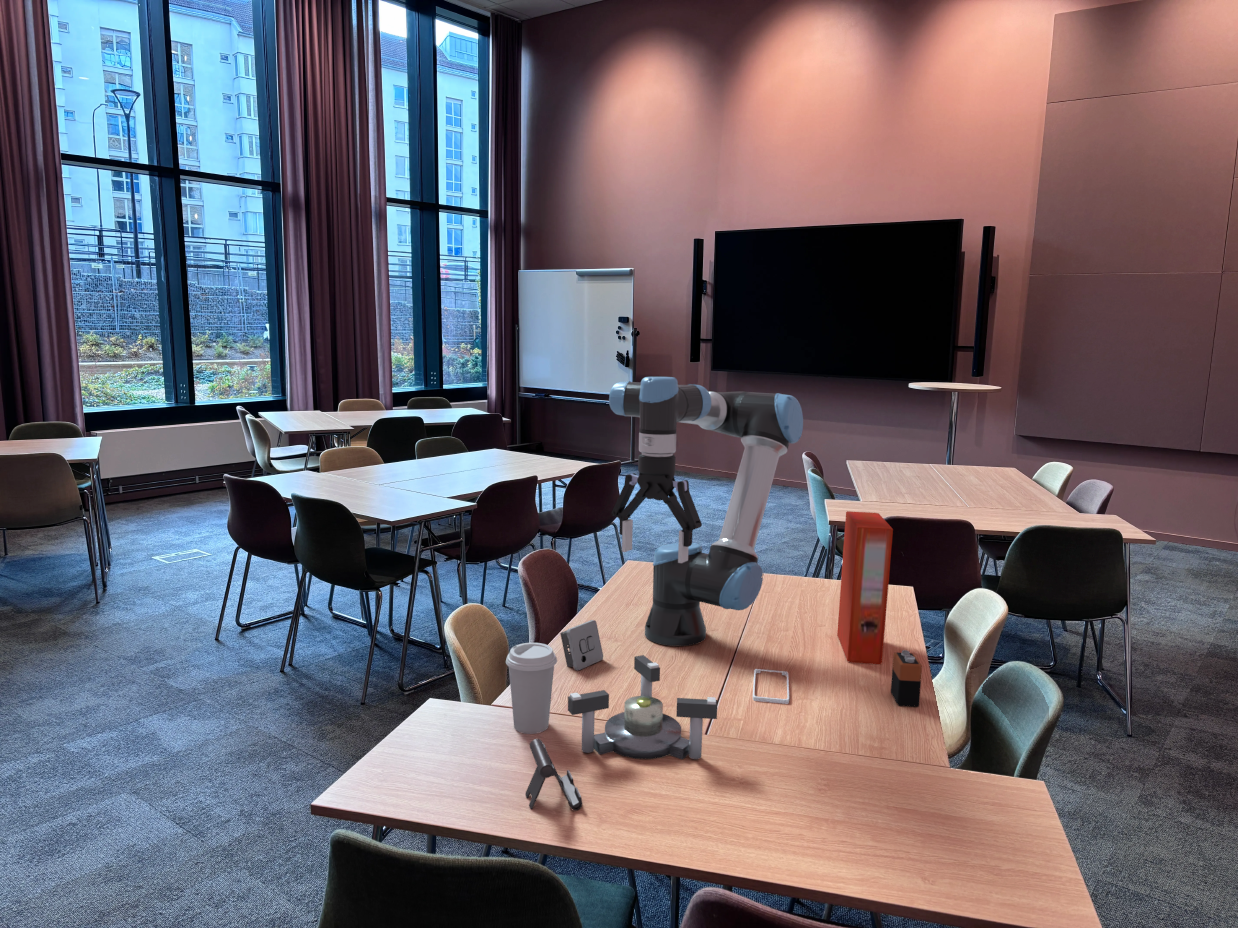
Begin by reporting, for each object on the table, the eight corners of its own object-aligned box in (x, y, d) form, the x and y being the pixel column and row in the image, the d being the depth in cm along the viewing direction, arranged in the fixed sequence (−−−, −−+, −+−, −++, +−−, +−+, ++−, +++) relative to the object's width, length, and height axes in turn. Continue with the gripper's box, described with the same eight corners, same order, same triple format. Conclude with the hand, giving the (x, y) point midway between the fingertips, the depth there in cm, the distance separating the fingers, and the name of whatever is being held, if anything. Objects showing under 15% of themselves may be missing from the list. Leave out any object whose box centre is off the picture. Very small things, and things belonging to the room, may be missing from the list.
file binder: (870, 637, 207) (878, 512, 202) (883, 664, 190) (893, 528, 185) (837, 635, 208) (844, 511, 203) (847, 662, 191) (855, 526, 186)
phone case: (789, 706, 169) (787, 677, 183) (789, 699, 168) (788, 671, 183) (752, 702, 170) (754, 674, 185) (752, 696, 170) (754, 668, 184)
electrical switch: (577, 672, 182) (574, 631, 182) (559, 668, 186) (557, 627, 185) (604, 660, 190) (602, 620, 189) (587, 656, 193) (584, 617, 192)
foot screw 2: (632, 705, 166) (634, 654, 164) (642, 703, 167) (643, 652, 165) (649, 719, 159) (650, 666, 158) (659, 717, 160) (660, 665, 159)
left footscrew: (675, 757, 145) (676, 700, 144) (675, 751, 147) (677, 694, 146) (715, 760, 145) (717, 702, 143) (714, 753, 147) (717, 696, 145)
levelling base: (638, 711, 164) (639, 674, 162) (712, 735, 154) (713, 696, 153) (582, 748, 149) (582, 707, 148) (660, 777, 140) (661, 734, 138)
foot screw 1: (603, 742, 150) (604, 686, 148) (608, 748, 148) (609, 691, 146) (567, 750, 147) (567, 693, 145) (571, 756, 145) (572, 698, 143)
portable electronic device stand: (582, 810, 129) (583, 760, 128) (532, 818, 127) (533, 767, 126) (569, 781, 138) (570, 734, 137) (522, 788, 136) (522, 740, 134)
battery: (897, 706, 168) (901, 659, 167) (889, 692, 175) (893, 647, 174) (919, 707, 168) (923, 660, 166) (911, 693, 175) (914, 648, 173)
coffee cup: (535, 709, 164) (535, 637, 161) (566, 726, 157) (567, 650, 155) (495, 724, 157) (495, 649, 155) (527, 742, 150) (527, 664, 148)
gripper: (596, 449, 171) (594, 549, 174) (702, 462, 157) (698, 570, 160) (617, 446, 177) (615, 542, 180) (720, 457, 163) (716, 562, 166)
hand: (654, 556), depth 170 cm, fingers open, 13 cm apart
